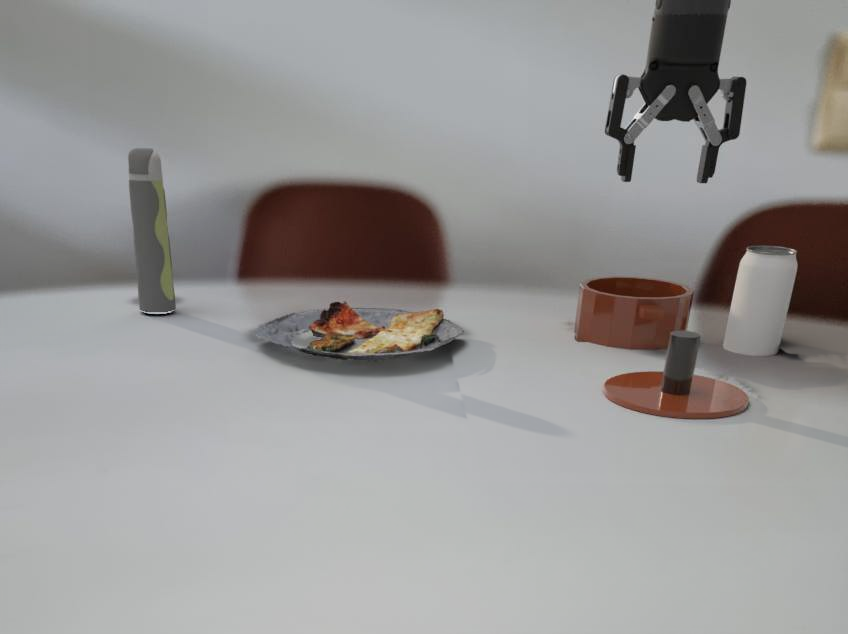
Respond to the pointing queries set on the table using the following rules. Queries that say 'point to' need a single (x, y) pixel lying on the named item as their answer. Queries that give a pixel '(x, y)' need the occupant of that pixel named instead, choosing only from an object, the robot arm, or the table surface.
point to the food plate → (363, 332)
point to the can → (760, 300)
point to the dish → (631, 312)
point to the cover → (677, 386)
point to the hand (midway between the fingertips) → (663, 182)
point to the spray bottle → (150, 231)
